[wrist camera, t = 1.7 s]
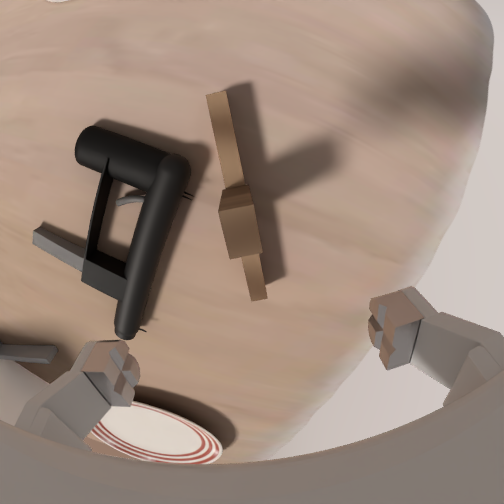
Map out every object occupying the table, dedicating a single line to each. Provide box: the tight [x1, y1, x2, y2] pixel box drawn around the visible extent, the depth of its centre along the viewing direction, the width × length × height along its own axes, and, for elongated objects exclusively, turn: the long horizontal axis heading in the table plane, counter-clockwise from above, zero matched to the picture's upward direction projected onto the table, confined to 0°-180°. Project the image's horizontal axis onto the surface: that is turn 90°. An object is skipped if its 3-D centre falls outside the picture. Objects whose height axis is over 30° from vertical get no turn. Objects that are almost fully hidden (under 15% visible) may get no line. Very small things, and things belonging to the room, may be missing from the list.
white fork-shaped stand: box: [0, 359, 49, 426], centre depth 24 cm, size 19×15×25 cm
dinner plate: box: [90, 401, 223, 464], centre depth 38 cm, size 28×27×3 cm
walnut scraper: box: [206, 91, 267, 301], centre depth 20 cm, size 18×2×8 cm, turn 11°
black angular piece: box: [33, 126, 192, 340], centre depth 23 cm, size 3×20×16 cm
